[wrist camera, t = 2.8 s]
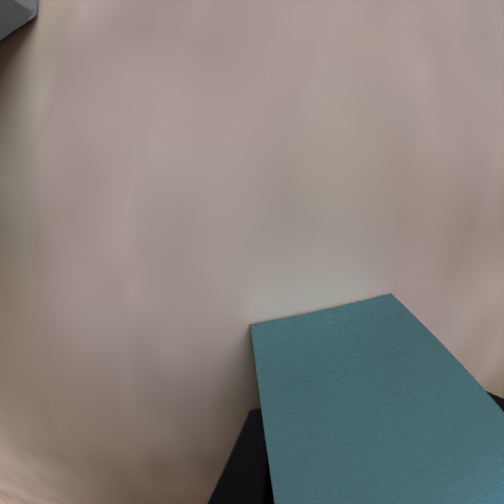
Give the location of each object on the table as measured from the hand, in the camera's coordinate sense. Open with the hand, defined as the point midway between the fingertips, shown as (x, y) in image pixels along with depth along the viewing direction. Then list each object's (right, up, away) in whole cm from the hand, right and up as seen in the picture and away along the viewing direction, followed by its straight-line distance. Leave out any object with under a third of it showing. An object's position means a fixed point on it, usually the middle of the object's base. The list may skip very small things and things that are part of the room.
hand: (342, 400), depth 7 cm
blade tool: (+1, -7, +4) cm, 8 cm away
